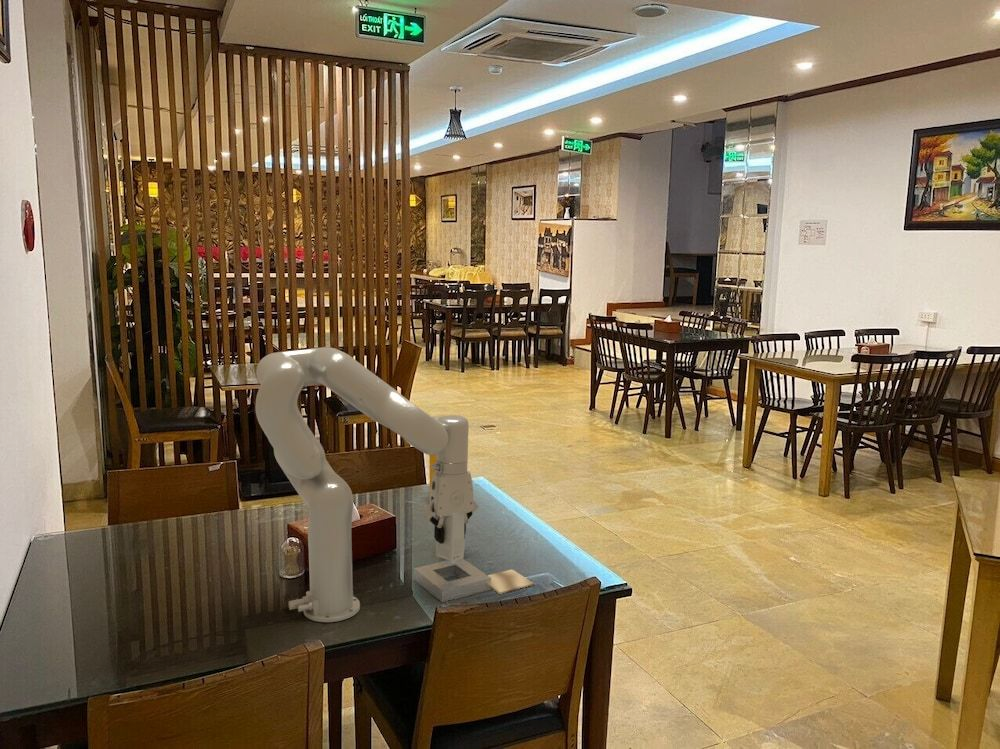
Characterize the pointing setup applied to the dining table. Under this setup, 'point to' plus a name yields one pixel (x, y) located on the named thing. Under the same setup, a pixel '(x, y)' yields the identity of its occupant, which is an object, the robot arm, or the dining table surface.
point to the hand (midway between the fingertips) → (450, 539)
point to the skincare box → (452, 538)
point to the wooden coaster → (508, 581)
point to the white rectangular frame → (464, 586)
